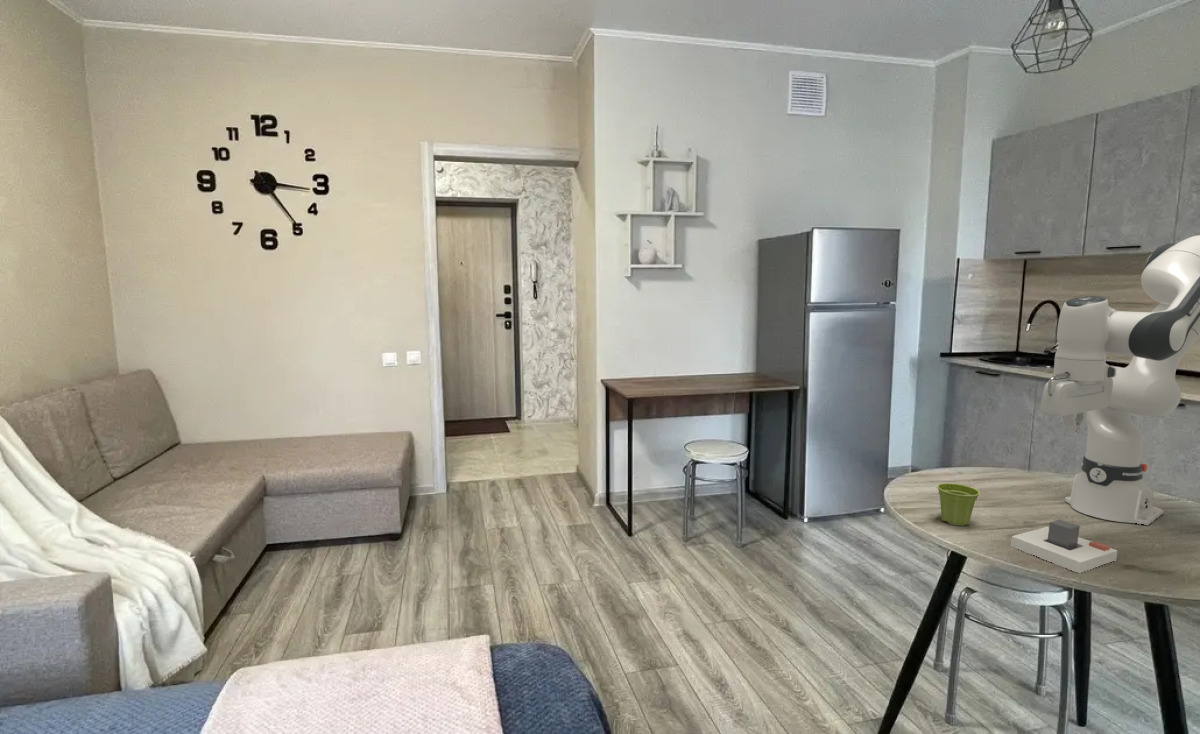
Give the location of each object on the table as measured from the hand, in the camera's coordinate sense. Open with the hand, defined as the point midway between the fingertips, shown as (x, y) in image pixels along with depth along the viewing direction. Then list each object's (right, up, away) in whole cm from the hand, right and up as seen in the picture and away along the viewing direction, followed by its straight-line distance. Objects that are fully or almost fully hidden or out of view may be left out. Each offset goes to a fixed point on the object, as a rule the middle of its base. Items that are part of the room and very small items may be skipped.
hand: (1073, 431), depth 134 cm
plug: (-2, -28, +1) cm, 28 cm away
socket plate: (-2, -28, +1) cm, 28 cm away
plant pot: (-15, -25, +19) cm, 35 cm away
